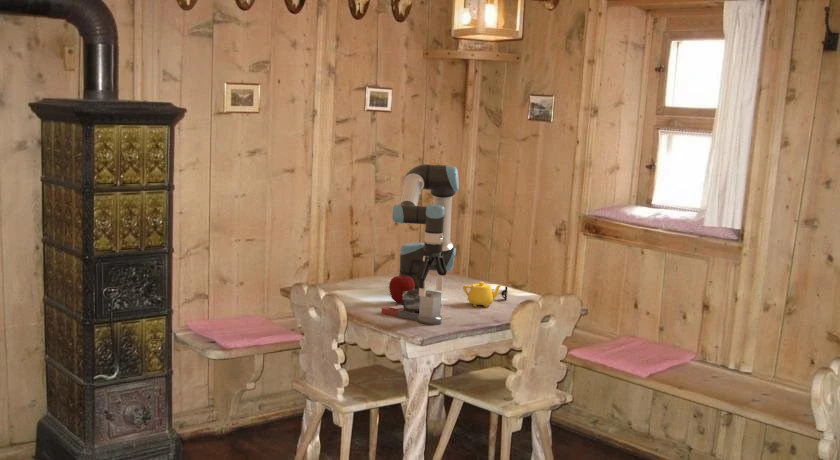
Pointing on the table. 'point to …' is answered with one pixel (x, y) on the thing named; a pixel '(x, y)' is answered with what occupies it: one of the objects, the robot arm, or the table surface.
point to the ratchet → (411, 316)
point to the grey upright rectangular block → (430, 305)
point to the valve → (502, 293)
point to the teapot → (481, 294)
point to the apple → (400, 287)
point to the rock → (411, 300)
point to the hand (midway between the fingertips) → (430, 293)
